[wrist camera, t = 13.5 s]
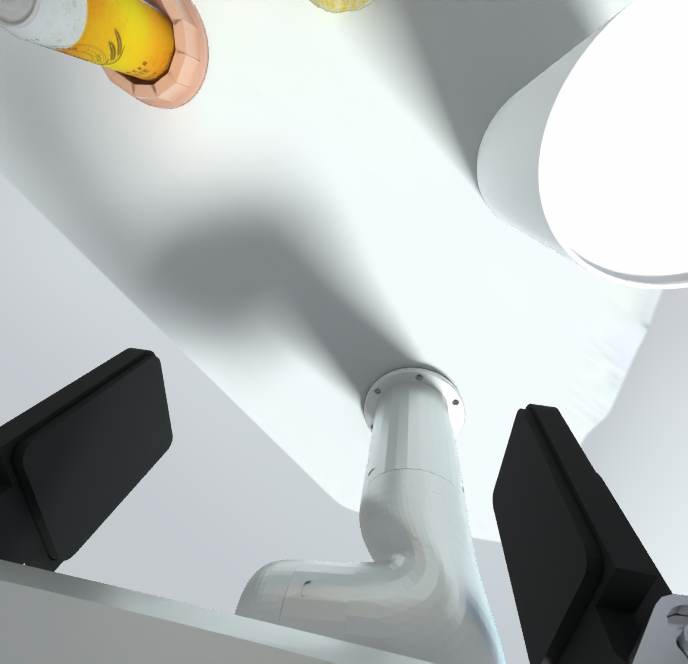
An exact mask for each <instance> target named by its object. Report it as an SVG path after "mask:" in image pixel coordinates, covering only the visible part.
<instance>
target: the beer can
mask: <svg viewBox="0 0 688 664" xmlns="http://www.w3.org/2000/svg"><path fill="white" fill-rule="evenodd" d="M0 26H1V27H2V28H4V29H5V30H6V31H7V32H9V33H10V34H12V35H14V36H15V37H18V38H20V39H23V40H26V41H29V42H32V43H35V44H38V45H41V46H44V47H47V48H50V49H53V50H56V51H59V52H62V53H65V54H68V55H71V56H74V57H77V58H80V59H83V60H86V61H89V62H92V63H95V64H98V65H101V66H104V67H107V68H110V69H113V70H116V71H119V72H122V73H125V74H128V75H131V76H134V77H137V78H140V79H143V80H146V81H149V82H158V81H159V80H160V79H161V78H163V77H164V76H165V75H166V74H168V72H169V69H170V66H171V63H172V60H173V57H174V54H175V51H176V47H175V37H174V28H173V25H172V24H171V22H170V20H169V19H168V17H167V16H166V15H165V14H164V13H163V12H162V11H161V10H159V9H158V8H157V7H155V6H153V5H152V4H150V3H149V2H147V1H146V0H0Z"/></svg>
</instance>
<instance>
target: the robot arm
mask: <svg viewBox="0 0 688 664" xmlns="http://www.w3.org/2000/svg"><path fill="white" fill-rule="evenodd" d="M418 374H420V375H418ZM378 388H379V389H378ZM454 399H456V400H454ZM364 415H365V420H366V423H367V426H368V427H369V429H370V431H371V432H372V436H371V442H370V448H369V454H368V461H367V467H366V473H365V479H364V485H363V491H362V497H361V504H360V512H359V521H360V528H361V532H362V536H363V539H364V542H365V544H366V547H367V549H368V551H369V552H370V555H371V556H372V558H373V560H374V562H361V563H346V562H326V561H310V560H280V561H275V562H272V563H269V564H267V565H265V566H263V567H262V568H261V569H259V570H258V571H257V572H256V573H255V574H254V575H253V576H252V578H251V579H250V580H249V582H248V583H247V585H246V587H245V589H244V591H243V593H242V595H241V598H240V600H239V603H238V606H237V609H236V612H235V615H234V614H230V613H226V612H221V611H217V610H213V609H209V608H205V607H200V606H196V605H192V604H188V603H184V602H180V601H175V600H171V599H167V598H162V597H159V596H154V595H150V594H146V593H142V592H138V591H133V590H129V589H125V588H121V587H116V586H112V585H108V584H104V583H99V582H95V581H91V580H86V579H82V578H78V577H73V576H69V575H65V574H61V573H56V572H54V571H55V570H56V569H57V568H58V567H59V565H60V564H61V563H62V562H63V561H65V560H68V559H70V558H71V557H72V556H73V555H74V554H75V553H76V552H77V551H78V550H79V549H80V548H81V547H82V545H83V544H84V543H85V542H86V541H87V540H88V539H89V538H90V537H91V535H92V534H93V533H94V532H95V531H96V530H97V529H98V527H99V526H100V525H101V524H102V523H103V522H104V521H105V519H107V517H108V516H109V515H110V514H111V513H112V512H113V511H114V510H115V508H116V507H117V506H118V505H119V504H120V503H121V502H122V501H123V499H124V498H125V497H126V496H127V495H128V494H129V493H130V492H131V491H132V489H133V488H134V487H135V486H136V485H137V484H138V483H139V482H140V480H141V479H142V478H143V477H144V476H145V475H146V474H147V472H148V471H149V470H150V469H151V468H152V467H153V466H154V464H156V462H157V461H158V460H159V459H160V458H161V457H162V456H163V454H164V453H165V452H166V451H167V450H168V449H169V447H170V445H171V442H172V438H173V436H172V429H171V423H170V417H169V411H168V405H167V399H166V393H165V387H164V381H163V374H162V369H161V363H160V360H159V358H157V357H156V356H155V354H154V352H152V351H150V350H142V349H135V348H128V349H126V350H124V351H123V352H121V353H120V354H118V355H116V356H115V357H113V358H111V359H110V360H108V361H107V362H105V363H103V364H102V365H100V366H98V367H97V368H95V369H93V370H92V371H90V372H89V373H87V374H85V375H84V376H82V377H81V378H79V379H77V380H76V381H74V382H72V383H71V384H69V385H67V386H66V387H64V388H62V389H61V390H59V391H58V392H56V393H54V394H53V395H51V396H49V397H48V398H46V399H45V400H43V401H41V402H40V403H38V404H36V405H35V406H33V407H32V408H30V409H28V410H27V411H25V412H23V413H22V414H20V415H19V416H17V417H15V418H14V419H12V420H10V421H9V422H7V423H5V424H4V425H2V426H1V427H0V664H506V659H505V656H504V652H503V648H502V644H501V640H500V637H499V634H498V631H497V628H496V625H495V622H494V619H493V615H492V612H491V609H490V606H489V603H488V600H487V597H486V594H485V591H484V587H483V584H482V581H481V577H480V573H479V570H478V566H477V562H476V557H475V553H474V548H473V543H472V537H471V532H470V526H469V520H468V514H467V507H466V501H465V495H464V488H463V482H462V475H461V469H460V462H459V456H458V449H457V443H456V437H457V436H458V434H459V433H460V431H461V429H462V427H463V424H464V419H465V410H464V404H463V400H462V397H461V395H460V393H459V392H458V390H457V389H456V387H455V386H454V385H453V384H452V383H451V382H450V381H449V380H447V379H446V378H445V377H443V376H441V375H440V374H438V373H436V372H433V371H430V370H427V369H421V368H403V369H397V370H394V371H392V372H389V373H387V374H385V375H384V376H382V377H380V378H379V379H378V380H377V381H376V382H375V383H374V384H373V385H372V387H371V388H370V389H369V392H368V394H367V396H366V400H365V405H364ZM493 508H494V512H495V517H496V521H497V525H498V530H499V534H500V538H501V542H502V546H503V551H504V555H505V559H506V563H507V568H508V572H509V577H510V581H511V585H512V589H513V594H514V597H515V602H516V606H517V611H518V615H519V619H520V623H521V628H522V632H523V636H524V640H525V645H526V649H527V653H528V658H529V661H530V664H688V596H685V595H677V594H672V592H671V590H670V589H669V587H668V586H667V584H666V582H665V581H664V579H663V577H662V576H661V574H660V573H659V571H658V569H657V568H656V566H655V564H654V563H653V561H652V559H651V558H650V556H649V554H648V553H647V551H646V550H645V548H644V546H643V545H642V543H641V541H640V540H639V538H638V536H637V535H636V533H635V532H634V530H633V528H632V527H631V525H630V523H629V522H628V520H627V518H626V517H625V515H624V514H623V512H622V510H621V509H620V507H619V505H618V504H617V502H616V500H615V499H614V497H613V496H612V494H611V492H610V491H609V489H608V487H607V486H606V484H605V482H604V481H603V479H602V478H601V477H600V476H599V474H598V473H596V472H595V470H594V469H593V467H592V465H591V463H590V462H589V460H588V459H587V457H586V455H585V454H584V452H583V450H582V448H581V447H580V445H579V443H578V442H577V440H576V438H575V437H574V435H573V433H572V432H571V430H570V429H569V427H568V425H567V424H566V422H565V420H564V419H563V417H562V415H561V414H560V412H559V410H558V409H557V408H555V407H549V406H542V405H535V404H529V405H528V406H527V407H526V409H519V410H518V412H517V414H516V418H515V421H514V424H513V428H512V431H511V434H510V438H509V441H508V444H507V448H506V451H505V455H504V458H503V461H502V465H501V468H500V471H499V475H498V478H497V481H496V485H495V488H494V492H493ZM24 563H25V565H23V564H24Z"/></svg>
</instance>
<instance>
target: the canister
mask: <svg viewBox="0 0 688 664" xmlns="http://www.w3.org/2000/svg"><path fill="white" fill-rule="evenodd" d="M477 181H478V186H479V190H480V193H481V195H482V198H483V200H484V202H485V203H486V205H487V206H488V208H489V209H490V210H491V212H492V213H493V214H494V215H495V216H496V217H497V218H499V219H500V220H501V221H502V222H504V223H506V224H507V225H509V226H511V227H513V228H514V229H516V230H518V231H520V232H522V233H523V234H525V235H527V236H529V237H530V238H532V239H534V240H536V241H537V242H539V243H541V244H543V245H545V246H546V247H548V248H550V249H552V250H553V251H555V252H557V253H559V254H560V255H562V256H564V257H566V258H568V259H569V260H571V261H573V262H575V263H576V264H578V265H580V266H582V267H583V268H585V269H587V270H589V271H591V272H592V273H594V274H596V275H598V276H600V277H602V278H605V279H607V280H610V281H612V282H615V283H619V284H622V285H627V286H632V287H638V288H647V289H673V288H674V289H675V288H685V287H688V0H634V1H633V2H632V3H630V4H629V5H628V6H627V7H625V8H624V9H623V10H621V11H620V12H619V13H618V14H616V15H615V16H614V17H612V18H611V19H610V20H609V21H607V22H606V23H605V24H604V25H602V26H601V27H600V28H598V29H597V30H596V31H595V32H593V33H592V34H591V35H589V36H588V37H587V38H586V39H584V40H583V41H582V42H581V43H579V44H578V45H577V46H575V47H574V48H573V49H572V50H570V51H569V52H568V53H566V54H565V55H564V56H563V57H561V58H560V59H559V60H558V61H556V62H555V63H554V64H552V65H551V66H550V67H549V68H547V69H546V70H545V71H543V72H542V73H541V74H540V75H538V76H537V77H536V78H534V79H533V80H532V81H531V82H529V83H528V84H527V85H526V86H524V87H523V88H522V89H520V90H519V91H518V92H517V93H515V94H514V95H513V96H512V97H511V98H510V99H508V100H507V101H506V102H505V103H504V105H503V106H502V107H501V108H500V109H499V110H498V112H497V113H496V114H495V116H494V117H493V119H492V120H491V122H490V123H489V125H488V127H487V129H486V131H485V133H484V136H483V138H482V141H481V144H480V147H479V152H478V157H477Z"/></svg>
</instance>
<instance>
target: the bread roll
mask: <svg viewBox="0 0 688 664" xmlns="http://www.w3.org/2000/svg"><path fill="white" fill-rule="evenodd" d="M310 1H311V2H312V3H313V4H314V5H316V6H317V7H319V8H321V9H323V10H325V11H327V12H332V13H341V12H344V11H356V10H359V9H362V8H364V7H366V6H367V5H369V4H371V3H372V2H373V1H374V0H310Z"/></svg>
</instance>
